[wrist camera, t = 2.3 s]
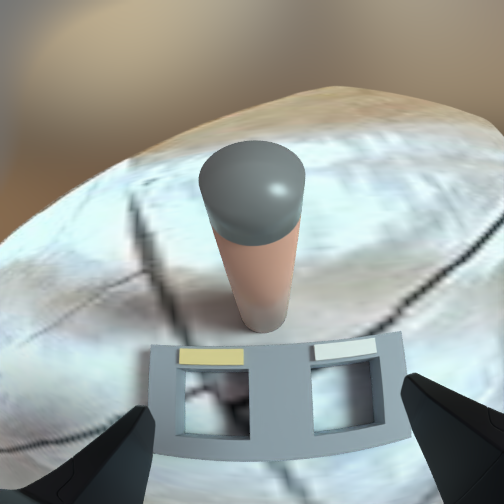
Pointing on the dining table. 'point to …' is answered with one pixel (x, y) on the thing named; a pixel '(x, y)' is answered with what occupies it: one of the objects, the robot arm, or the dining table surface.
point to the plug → (256, 224)
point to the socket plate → (278, 398)
